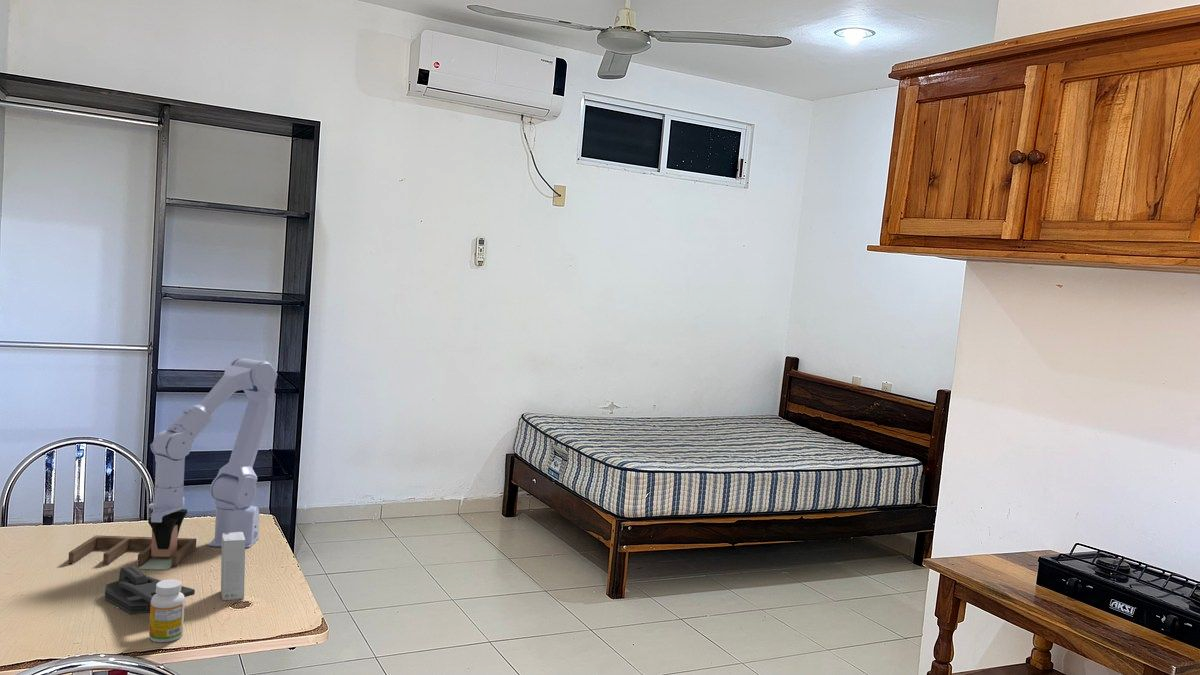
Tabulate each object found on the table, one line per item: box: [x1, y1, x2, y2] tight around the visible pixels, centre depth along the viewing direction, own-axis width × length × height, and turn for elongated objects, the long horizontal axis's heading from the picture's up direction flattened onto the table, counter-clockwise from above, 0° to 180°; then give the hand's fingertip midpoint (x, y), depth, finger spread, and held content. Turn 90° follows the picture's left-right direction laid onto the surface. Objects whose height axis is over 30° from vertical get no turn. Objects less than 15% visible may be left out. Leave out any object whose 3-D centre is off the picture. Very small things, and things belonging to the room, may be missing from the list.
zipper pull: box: [104, 565, 196, 615], centre depth 166 cm, size 9×7×25 cm
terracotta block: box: [151, 525, 178, 557], centre depth 194 cm, size 4×4×6 cm
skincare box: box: [220, 532, 246, 601], centre depth 176 cm, size 6×4×12 cm
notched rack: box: [68, 534, 197, 571], centre depth 193 cm, size 22×14×2 cm, turn 97°
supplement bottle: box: [148, 578, 186, 643], centre depth 154 cm, size 5×5×10 cm
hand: (167, 545), depth 194 cm, fingers closed on terracotta block, 4 cm apart
